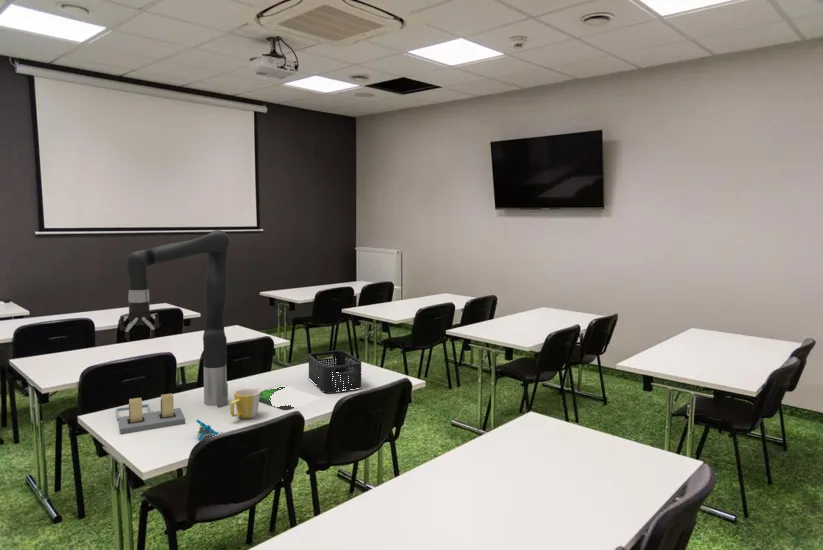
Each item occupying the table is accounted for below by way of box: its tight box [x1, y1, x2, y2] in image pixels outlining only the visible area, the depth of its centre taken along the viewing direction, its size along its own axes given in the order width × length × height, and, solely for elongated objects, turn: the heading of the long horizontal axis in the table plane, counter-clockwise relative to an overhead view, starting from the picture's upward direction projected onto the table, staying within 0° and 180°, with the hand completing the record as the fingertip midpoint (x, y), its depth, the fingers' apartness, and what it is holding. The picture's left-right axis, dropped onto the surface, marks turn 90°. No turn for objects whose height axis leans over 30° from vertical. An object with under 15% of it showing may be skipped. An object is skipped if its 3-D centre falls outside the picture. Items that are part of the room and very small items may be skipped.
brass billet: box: [128, 397, 143, 424], centre depth 201 cm, size 4×4×10 cm
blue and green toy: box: [195, 418, 219, 441], centre depth 194 cm, size 11×6×10 cm
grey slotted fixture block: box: [118, 407, 186, 435], centre depth 204 cm, size 22×13×3 cm, turn 121°
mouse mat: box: [259, 387, 295, 411], centre depth 240 cm, size 27×22×1 cm
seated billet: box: [160, 393, 175, 419], centre depth 206 cm, size 4×4×10 cm
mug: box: [229, 387, 261, 420], centre depth 214 cm, size 14×10×10 cm
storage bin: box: [308, 349, 362, 393], centre depth 261 cm, size 29×19×13 cm
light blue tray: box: [115, 403, 152, 422], centre depth 213 cm, size 12×12×2 cm
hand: (140, 339), depth 216 cm, fingers open, 8 cm apart
